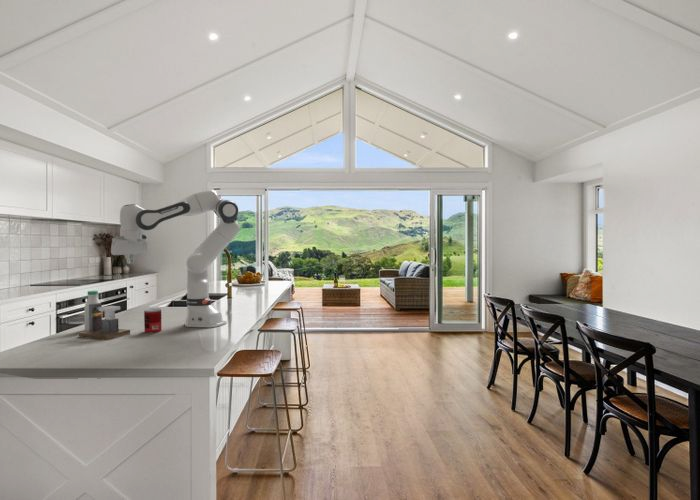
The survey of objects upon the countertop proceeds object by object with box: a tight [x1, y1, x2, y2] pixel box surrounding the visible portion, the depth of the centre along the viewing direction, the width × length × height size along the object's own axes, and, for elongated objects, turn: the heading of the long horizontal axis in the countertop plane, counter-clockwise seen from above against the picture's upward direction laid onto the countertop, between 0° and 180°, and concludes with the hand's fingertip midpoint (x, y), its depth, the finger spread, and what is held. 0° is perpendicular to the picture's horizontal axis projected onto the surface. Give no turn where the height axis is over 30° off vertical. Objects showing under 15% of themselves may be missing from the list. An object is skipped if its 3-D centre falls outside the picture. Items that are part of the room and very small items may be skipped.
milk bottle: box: [83, 290, 103, 331], centre depth 218 cm, size 8×8×20 cm
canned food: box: [143, 307, 162, 334], centre depth 215 cm, size 8×8×11 cm
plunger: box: [96, 305, 121, 320], centre depth 206 cm, size 11×6×8 cm, turn 70°
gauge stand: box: [78, 302, 131, 341], centre depth 206 cm, size 18×13×15 cm
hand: (130, 263), depth 218 cm, fingers closed
